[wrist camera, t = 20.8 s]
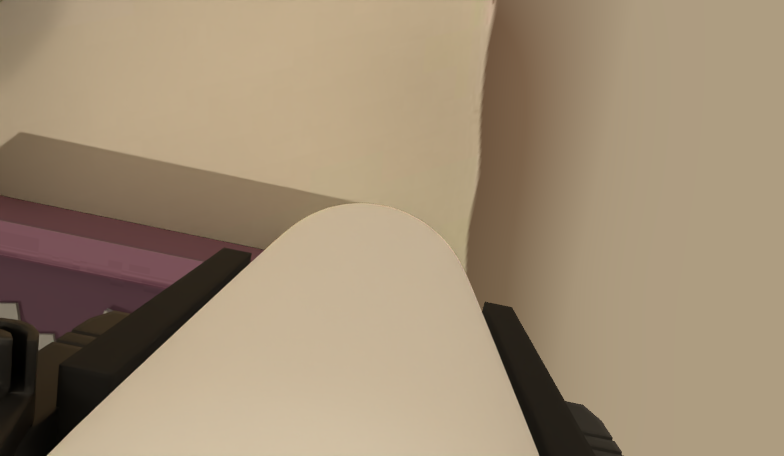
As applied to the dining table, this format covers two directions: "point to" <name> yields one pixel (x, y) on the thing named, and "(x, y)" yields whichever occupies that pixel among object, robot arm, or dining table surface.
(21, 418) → the robot arm
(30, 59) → the dining table surface
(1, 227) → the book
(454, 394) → the can
